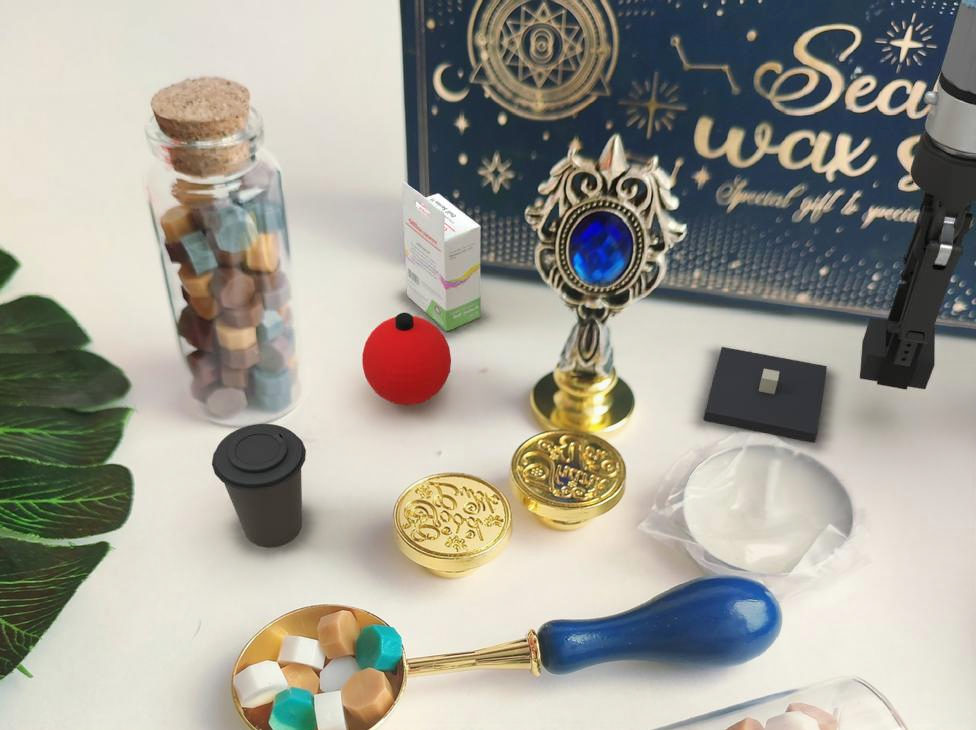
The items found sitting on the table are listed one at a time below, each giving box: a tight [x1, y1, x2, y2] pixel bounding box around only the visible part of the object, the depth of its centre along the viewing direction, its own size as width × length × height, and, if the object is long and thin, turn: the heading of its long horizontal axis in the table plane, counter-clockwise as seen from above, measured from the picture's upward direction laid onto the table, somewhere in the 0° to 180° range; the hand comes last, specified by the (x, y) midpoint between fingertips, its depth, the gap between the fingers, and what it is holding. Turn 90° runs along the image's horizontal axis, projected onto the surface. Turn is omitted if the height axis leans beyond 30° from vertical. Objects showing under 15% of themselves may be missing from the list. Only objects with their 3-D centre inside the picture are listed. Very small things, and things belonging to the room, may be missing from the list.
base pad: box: [703, 346, 828, 443], centre depth 110 cm, size 11×11×3 cm
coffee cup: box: [211, 423, 307, 548], centre depth 96 cm, size 8×8×10 cm
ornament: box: [361, 311, 452, 406], centre depth 108 cm, size 9×9×10 cm
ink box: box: [401, 181, 482, 332], centre depth 117 cm, size 9×5×15 cm, turn 34°
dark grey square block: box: [859, 316, 936, 390], centre depth 103 cm, size 6×6×3 cm
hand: (893, 363), depth 104 cm, fingers closed on dark grey square block, 6 cm apart
